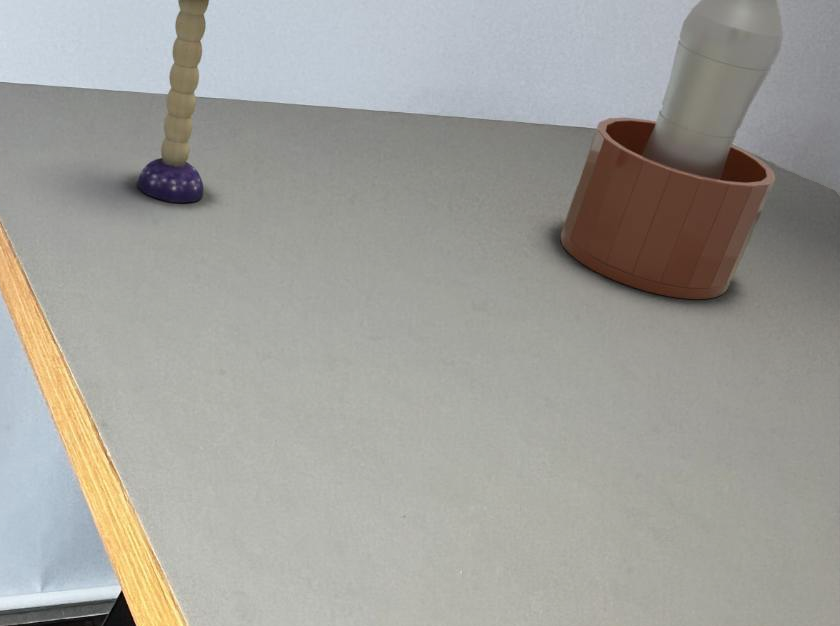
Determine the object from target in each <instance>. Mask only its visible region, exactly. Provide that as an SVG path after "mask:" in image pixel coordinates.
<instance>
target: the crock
mask: <svg viewBox="0 0 840 626" xmlns="http://www.w3.org/2000/svg"><path fill="white" fill-rule="evenodd" d="M656 121H657V120H656ZM656 121H655V120H652V119H651V120H650V119H643V118H642V119H641V118H633V117H609V118H606V119H603V120H601V121H599V122H598V123H597V126H596V129H595V132H594V135H593V138H592V141H591V144H590V147H589V150H588V152H587V156H586V159H585V161H584V164H583V168H582V170H581V173H580V176H579V179H578V182H577V185H576V188H575V191H574V194H573V197H572V200H571V202H570V205H569V209H568V212H567V214H566V217H565V221H564V224H563V227H562V230H561V234H560V242H561V245H562V247H563V248H564V249H565V251H567V253H568V254H569V255H570V256H571V257H573V259H575V260H576V261H578V262H579V263H580V264H582V265H583V266H585V267H587V268H589V269H590V270H592V271H593V272H596V273H597V274H599V275H601V276H603V277H606V278H608V279H610V280H613V281H615V282H618V283H620V284H623V285H626V286H628V287H631V288H634V289H638V290H641V291H644V292H646V293H647V292H648V293H651V294H656V295H660V296H665V297H670V298H677V299H685V300H686V299H687V300H708V299H713V298H717V297H719V296H723V294H725V293H726V292H727V290H728V289H729V286H730V284H731V282H732V280H733V279H734V277H735V275H736V272H737V270H738V268H739V266H740V263H741V261H742V259H743V256H744V254H745V252H746V249H747V247H748V245H749V243H750V240H751V238H752V236H753V233H754V231H755V228H756V226H757V225H758V222H759V219H760V217H761V215H762V212H763V210H764V208H765V206H766V203H767V201H768V198H769V197H770V194H771V191H772V189H773V187H774V185H775V183H776V175H775V171H774V170H773V169H772V168H771V167H770V166H769V165H768V164H767V163H765V162H764V161H763V160H762V159H760V158H758V157H757V156H755V155H753V154H752V153H750V152H748V151H746V150H744V149H743V148H740V147H738V146H735V145H733V144H732V146H731V148H730V150H729V153H728V157H727V160H726V163H725V166H724V169H723V172H722V175H721V178H720V180H717V179H712V178H707V177H702V176H698V175H694V174H691V173H687V172H684V171H680V170H677V169H673V168H670V167H668V166H665V165H662V164H660V163H657V162H654V161H652V160H649V159H646V158H644V157H642V153H643V151H644V149H645V147H646V145H647V143H648V140H649V138H650V136H651V134H652V132H653V129H654V127H655V124H656Z"/></svg>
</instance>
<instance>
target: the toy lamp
mask: <svg viewBox="0 0 840 626" xmlns="http://www.w3.org/2000/svg"><path fill="white" fill-rule="evenodd" d="M209 2H210V0H178V1H177V3H178V7H179V12H178V13H177V15H176V18H175V26H174V27H175V34H176V38H175V39H174V41H173V46H172V52H171V53H172V59H173V64H172V66H171V68H170V71H169V80H168V81H169V85H170V89H169V91H168V92H167V96H166V108H167V109H166V110H167V111H168V112H167V114H166V115H165V118H164V122H163V132H164V139H163V140H162V142H161V147H160V154H161V157H160V158H156V159H154V160H151V161H150V162H149V163H147V164H146V165H145V166H144V168H143V169H141V172H140V174H139V176H138V180H137V186H138V187H139V190H140V191H142V193H144V194H146V195H148V196H150V197H152V198H155V199H158V200H161V201H166V202H171V203H192V202H193V203H194V202H196V201H199V200H201V199H202V198H203V196H204V183H203V180H202V177H201V175H200V173H199V171H198V170H197V168H195V167H194V166H193V165H192V164H190V163H189V162H187V161H188V159H189V156H190V143H189V140H190V138H191V136H192V133H193V118H192V115H193V114H194V112H195V109H196V105H197V104H196V102H197V99H196V94H195V91H196V90H197V88H198V85H199V82H200V71H199V68H198V66H199V64H200V63H201V60H202V56H203V46H202V45H203V44H202V41H201V40H202V39H203V37H204V35H205V31H206V25H207V24H206V17H205V13H206V12H207V10H208V6H209Z"/></svg>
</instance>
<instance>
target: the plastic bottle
mask: <svg viewBox="0 0 840 626" xmlns="http://www.w3.org/2000/svg"><path fill="white" fill-rule="evenodd" d="M782 24H783V23H782V18H781V12H780V7H779V3H778V0H699V2H697V4H695V5H694V7H692V8H691V10H690V11H689V13H688V15H687V16H686V17H685V19H684V20H683V22H682V26H681V30H680V33H679V40H678V41H677V45H676V50H675V54H674V57H673V63H672V67H671V71H670V76H669V81H668V84H667V86H666V90H665V93H664V97H663V99H662V102H661V105H662V106H661V110H660V111H659V112H658V114H657V118H656V124H655V127H654V129H653V132H652V134H651V136H650V138H649V140H648V143H647V145H646V147H645V149H644V151H643V153H642V157H644V158H646V159H649V160H652V161H654V162H657V163H660V164H662V165H665V166H668V167H670V168H673V169H677V170H680V171H684V172H687V173H691V174H694V175H698V176H702V177H707V178H712V179H717V180H720V178H721V175H722V172H723V169H724V166H725V163H726V160H727V157H728V153H729V150H730V148H731V146H732V145H733V143H734V141H735V139H736V137H737V132H738V130H739V129H741V126H742V124H743V122H744V119H745V118H746V115H747V113H748V111H749V108H750V107H751V105H752V103H753V101H754V100H755V98H756V96H757V94H758V93H759V91H760V89H761V87H762V85H763V84H764V82H765V80H766V78H767V77H768V75H769V73H770V71H771V69H772V66H773V65H774V64H775V62H776V60H777V58H778V56H779V53H780V52H781V49H782V43H783V42H782V41H783V36H784V35H783V34H784V33H783V31H784V30H783V25H782Z"/></svg>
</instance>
